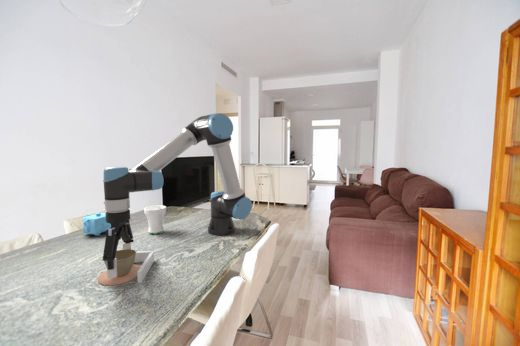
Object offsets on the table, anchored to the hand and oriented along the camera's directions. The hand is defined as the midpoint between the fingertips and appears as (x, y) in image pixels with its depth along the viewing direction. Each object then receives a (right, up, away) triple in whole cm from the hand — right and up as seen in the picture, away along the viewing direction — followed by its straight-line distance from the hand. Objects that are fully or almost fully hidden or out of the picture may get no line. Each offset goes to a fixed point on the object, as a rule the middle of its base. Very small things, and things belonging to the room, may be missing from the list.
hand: (120, 267), depth 84 cm
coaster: (0, -3, 0) cm, 3 cm away
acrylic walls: (+1, -2, +2) cm, 3 cm away
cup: (-7, +1, +44) cm, 45 cm away
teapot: (-38, +1, +44) cm, 58 cm away
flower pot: (0, -2, 0) cm, 2 cm away
